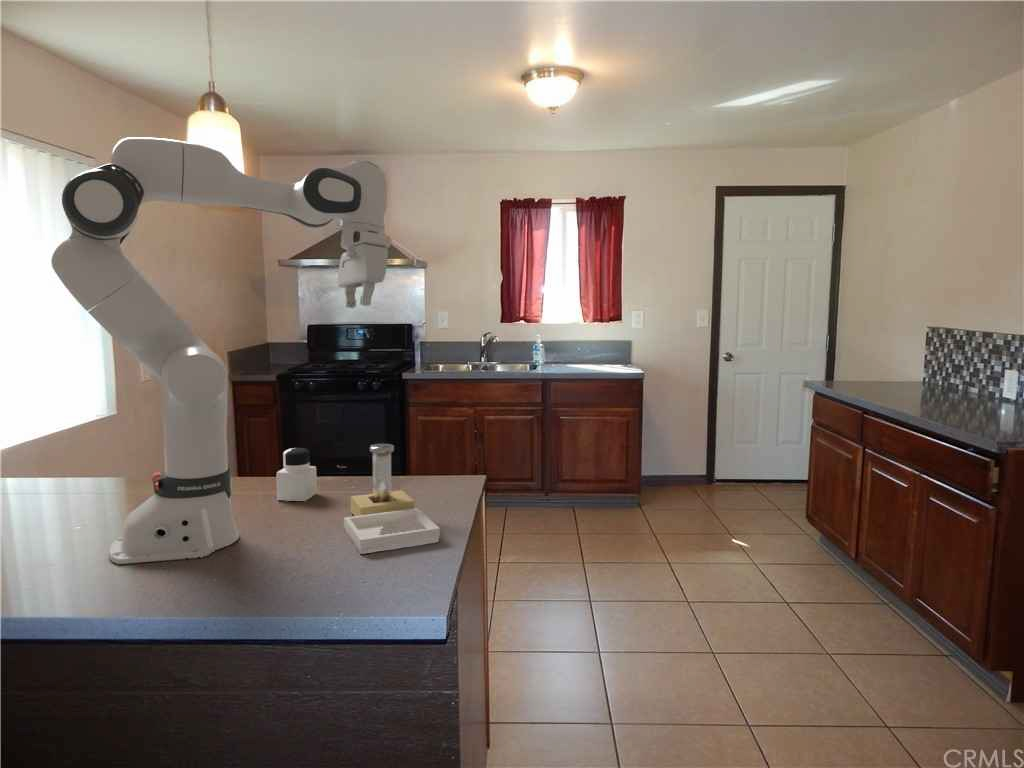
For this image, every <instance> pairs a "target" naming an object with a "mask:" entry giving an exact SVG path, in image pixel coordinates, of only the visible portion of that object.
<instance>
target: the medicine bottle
mask: <svg viewBox="0 0 1024 768" xmlns="http://www.w3.org/2000/svg"><path fill="white" fill-rule="evenodd" d="M282 458H283V460H282V462H283V468H282V469H280V470H278V471H277V472H276V500H277V501H278V500H297V501H306V500H308V499H309V498H310V499H311V497H312V496H313V495H314V496H316V495H317V494H318V492H317V490H318V487H317V482H318V480H317V466H315V465H314V466H313V465H310V464H311V462H310V459H311V456H310V451H309V449H307V448H304V447H294V448H293V447H292V448H288V449H286V450H284V451H283V453H282ZM316 493H317V494H316ZM315 494H316V495H315ZM314 496H313V497H314ZM313 497H312V498H313ZM310 499H309V500H310ZM309 500H308V501H309ZM306 502H307V501H306Z"/></svg>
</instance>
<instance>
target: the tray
mask: <svg viewBox="0 0 1024 768" xmlns="http://www.w3.org/2000/svg"><path fill="white" fill-rule="evenodd" d="M410 518H415V519H416V520H417V521H418V522H420V523H421V524H422V525H423V526H424V527H425V528H426V529H419V530H412V531H406V532H399V533H392V534H385V535H381V534H380V531H381V530H380V529H382V528H383V526H384V525H383V524H385V523H387V522H393V521H398V520H403V519H410ZM385 525H386V524H385ZM344 529H345V531H346V532H347V533H348V535H349V536H350V538H351V539H352V540H353V542H354V543H355V544H356V545H357V547H358V548H359V549H360V551H363V550H368V549H372V548H377V547H381V546H386V545H391V544H397V543H401V542H406V541H413V540H418V539H424V538H430V537H436V536H440V537H441V527H439V526H438V525H437V524H436V523H435V522H433V521H432V519H430V518H429V517H428V516H427V515H426V514H424V512H422V510H420V509H419V508H418V507H414V509H406V510H398V511H391V512H383V513H376V514H368V515H361V516H345V517H343V530H344ZM381 532H382V531H381ZM379 534H380V535H379Z"/></svg>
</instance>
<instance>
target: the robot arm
mask: <svg viewBox="0 0 1024 768" xmlns="http://www.w3.org/2000/svg"><path fill="white" fill-rule="evenodd" d="M387 181H388V180H387V175H386V174H385V172H384V170H383V169H381V167H379V166H378V165H376V164H374V163H372V162H370V161H366V160H360V159H357V160H352V161H351V162H349V163H347V164H344V165H341V166H337V167H319V168H316V169H313V170H312V171H310V172H309V173H308V174H306V175H305V176H304V177H303V179H302V180H300V181H298V182H293V183H284V182H279V181H273V180H269V179H268V180H267V179H263V178H257V177H253V176H250V175H247V174H246V173H243V172H242V171H239V170H238V169H237V168H236V167H235V166H234V165H233V164H232V162H231V161H230V159H228V157H227V156H226V155H224V153H222V152H221V151H219V150H216V149H213V148H212V147H207V146H204V145H201V144H196V143H192V142H188V141H181V140H177V139H176V140H175V139H170V138H169V139H168V138H160V137H159V138H158V137H126V138H125V137H124V138H123V139H120V140H119V141H118V142H117V143H116V144H115V146H114V148H113V149H112V151H111V155H110V163H106V164H104V165H101V166H97V167H96V168H95V167H94V168H92V169H89V170H86V171H83V172H80V173H78V174H76V175H75V176H73V177H72V178H71V179H70V180H68V182H67V183H66V184H65V186H64V187H63V191H62V194H61V204H62V208H63V211H64V213H65V216H66V218H67V221H68V222H69V224H70V227H71V234H70V236H68V238H67V239H65V240H64V241H62V242H61V243H60V244H59V245H58V246H57V247H56V248H55V250H54V252H53V254H52V256H51V268H52V269H53V271H54V272H55V274H56V276H57V277H58V279H59V280H60V281H61V283H62V285H63V286H64V287H65V289H67V290H68V292H69V293H70V294H71V296H72V297H73V298H74V299H75V300H76V301H77V302H78V304H79V305H80V306H81V307H82V308H83V309H84V310H85V311H86V312H87V313H88V314H89V315H90V316H91V317H92V318H93V319H94V320H95V321H96V322H97V323H98V324H99V325H100V326H101V327H102V328H103V329H104V330H105V331H106V332H107V333H108V335H110V336H111V337H112V338H113V339H114V340H116V342H117V343H118V344H119V345H120V346H121V347H122V348H123V349H125V350H126V351H127V352H128V353H129V354H130V355H131V356H132V357H134V358H135V359H136V360H137V361H138V362H139V363H140V365H142V366H144V368H146V370H148V372H150V373H151V374H152V375H153V377H154V378H156V380H158V381H159V382H160V384H161V400H162V426H163V429H162V431H163V434H162V435H163V449H164V450H163V452H164V469H165V472H164V473H162V472H159V471H156V472H154V473H153V474H152V475H151V481H152V483H153V490H154V491H153V493H154V494H153V495H151V497H149V498H147V499H146V500H145V501H144V502H143V503H141V504H140V505H139V506H137V508H135V509H134V510H132V511H131V512H130V513H129V515H128V516H127V518H126V519H125V521H124V524H123V528H122V532H121V533H122V535H121V536H120V537H117V538H116V539H115V540H114V541H113V542H112V543H111V544H110V547H109V551H108V557H109V560H110V561H111V562H113V563H115V564H118V565H121V564H122V565H125V564H137V563H148V562H160V561H161V562H162V561H174V560H186V558H188V559H197V558H198V557H200V558H204V556H205V557H207V555H208V556H210V555H211V554H213V553H214V552H216V551H218V550H221V549H222V548H226V547H228V546H230V545H232V544H234V543H235V542H236V541H237V540H238V539H239V538H240V533H239V531H238V528H237V524H236V522H235V521H236V520H235V517H234V513H233V507H232V502H231V497H232V492H233V491H232V489H233V488H232V486H233V485H232V474H231V470H230V468H229V465H228V441H227V439H228V438H227V437H228V435H227V426H228V402H229V401H228V399H229V398H228V397H229V395H228V394H229V389H228V387H229V386H228V385H229V384H228V381H229V380H228V376H229V375H228V370H227V366H226V365H225V363H224V361H223V360H222V358H220V356H219V355H218V354H216V353H215V352H214V351H213V350H212V349H211V348H210V346H208V345H207V344H206V343H205V342H204V341H203V340H202V338H201V337H200V336H199V335H198V334H197V333H196V332H195V331H194V330H193V329H192V328H191V327H190V325H188V323H187V322H186V321H185V320H184V319H183V318H182V316H180V314H179V313H178V312H177V311H176V310H175V309H174V308H173V307H172V306H171V304H170V303H168V302H167V300H166V299H165V298H164V297H163V296H162V295H161V294H160V293H159V292H158V291H157V290H156V288H154V286H153V285H151V283H149V282H150V281H148V280H147V279H146V278H145V277H144V276H143V274H141V273H140V271H138V269H136V267H135V266H134V265H133V264H132V263H131V262H130V261H129V259H127V257H126V256H125V254H124V253H123V251H122V248H121V244H122V243H123V241H124V240H125V239H126V238H127V236H128V235H129V234H130V232H131V231H132V230H133V228H134V227H135V225H136V223H137V220H138V215H139V209H140V206H142V205H144V204H145V203H148V202H156V201H157V202H158V201H160V202H161V201H163V202H165V201H166V202H170V203H176V204H183V205H193V206H208V207H211V206H212V207H213V206H214V207H215V206H217V207H218V206H219V207H240V208H244V209H245V208H246V209H251V210H257V211H263V212H269V213H273V214H280V215H283V216H286V217H289V218H290V219H292V220H295V221H296V222H297V223H299V224H301V225H303V226H305V227H308V228H316V229H317V228H323V227H325V226H327V225H328V224H330V223H331V222H332V221H333V219H339V220H341V222H342V225H341V237H340V247H341V248H342V249H343V250H346V252H343V253H342V254H341V255H340V262H339V267H338V275H337V284H338V285H337V286H338V287H339V288H344V297H345V307H346V308H349V309H354V308H355V307H356V306H357V300H356V291H357V288H362V293H361V295H360V302H359V304H360V305H361V306H365V307H369V306H371V304H372V296H373V294H374V291H375V285H376V284H379V283H383V281H384V279H385V277H386V274H387V273H386V272H387V266H388V258H389V250H388V249H389V248H390V247H391V245H392V238H391V236H389V235H387V234H385V233H386V226H385V220H384V219H385V215H386V211H387V205H388V183H387ZM225 546H226V547H225ZM220 548H221V549H220ZM217 549H218V550H217ZM215 550H216V551H215ZM212 552H213V553H212ZM209 554H210V555H209ZM198 559H199V558H198Z"/></svg>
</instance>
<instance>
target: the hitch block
mask: <svg viewBox="0 0 1024 768" xmlns="http://www.w3.org/2000/svg"><path fill="white" fill-rule="evenodd" d="M414 508H415V500H413V498H411V497H410V496H409V494H407V493H406V492H405V491H403V490H402V489H401V490H393V491H392V490H391V501H389V502H381V503H373V493H369V494H366V493H365V494H359V495H351V496H350V513H351V512H352V513H353V514H354V516H361V515H368V514H376V513H383V512H391V511H398V510H406V509H414Z"/></svg>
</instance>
